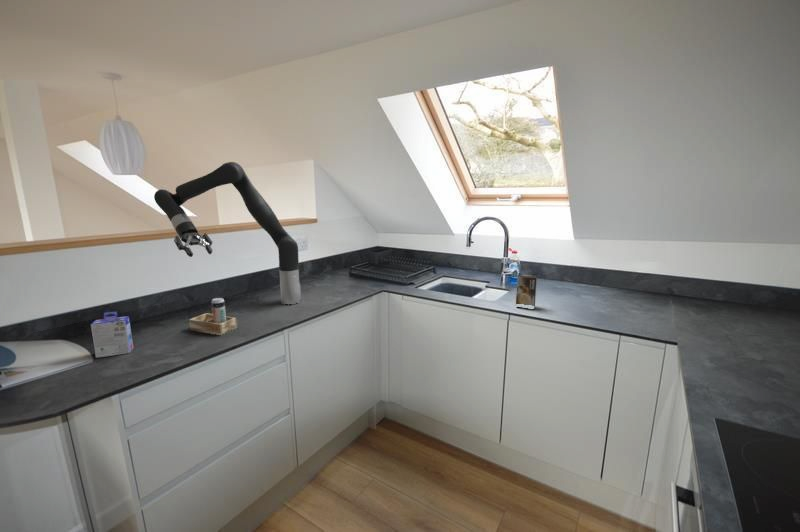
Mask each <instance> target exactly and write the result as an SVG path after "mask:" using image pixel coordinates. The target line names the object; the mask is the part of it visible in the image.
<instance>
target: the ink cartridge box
mask: <svg viewBox="0 0 800 532" xmlns="http://www.w3.org/2000/svg"><path fill="white" fill-rule="evenodd" d="M108 315H110V316H108ZM90 328H91V335H92V340H93V341H92V342H93V347H94V353H95V358H104V357H111V356H116V355H117V356H118V355H126V354H130V353H131V352H132V351H133V349H134V342H133V335H132V329H131V322H130V317H129V315H128V316H126V315H125V316H118V311H117V310H116V311H109V312H108V311H106V312H103V318H102V319H95V320H94V321H93V322H91V324H90Z"/></svg>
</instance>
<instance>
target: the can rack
mask: <svg viewBox="0 0 800 532" xmlns="http://www.w3.org/2000/svg"><path fill="white" fill-rule="evenodd" d="M188 322H189V323H188V325H189V330H190V331H194V332H199V333H204V334H209V333H210V335H215V334H216V335H217V336H220V335H221V336H223V335H222V334H224V335H226V334H228V333H230V332H232V331H234V330H233V329H235V330H237V329H238V318H237V317H233V316H227V315H226V322H223V323H221V324H218V323H213V315H212V313H208V312H206V313H203V314H200V315H198V316H197V315H196V316H195V317H192V318H190V319H188ZM236 328H237V329H236ZM231 330H232V331H231ZM229 331H230V332H229ZM227 332H228V333H227ZM225 333H226V334H225Z"/></svg>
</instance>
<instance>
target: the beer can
mask: <svg viewBox="0 0 800 532" xmlns="http://www.w3.org/2000/svg"><path fill="white" fill-rule="evenodd" d="M210 303H211V314H212V315H213V323H218V324H221V323H223V322H226V316H227V315H226V302H225V300H224V298H223V297H215V298H213V299H211V302H210Z"/></svg>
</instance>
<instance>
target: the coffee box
mask: <svg viewBox="0 0 800 532" xmlns="http://www.w3.org/2000/svg"><path fill="white" fill-rule="evenodd" d="M516 277H517V278H516V280H517V281H516V293H515V305H516V304H524V305H532V306H535V307H536V296H537V295H536V294H537V282H538V281H537V275H535V274H534V275H532V274H520V273H519V274H517V276H516Z"/></svg>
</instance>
